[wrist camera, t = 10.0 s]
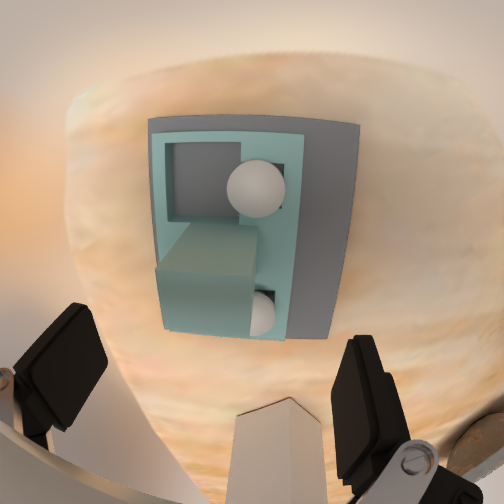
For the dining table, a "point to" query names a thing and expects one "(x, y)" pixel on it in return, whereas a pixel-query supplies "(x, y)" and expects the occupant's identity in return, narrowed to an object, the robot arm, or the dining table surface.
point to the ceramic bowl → (479, 449)
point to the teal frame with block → (226, 244)
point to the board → (314, 199)
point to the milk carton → (277, 457)
